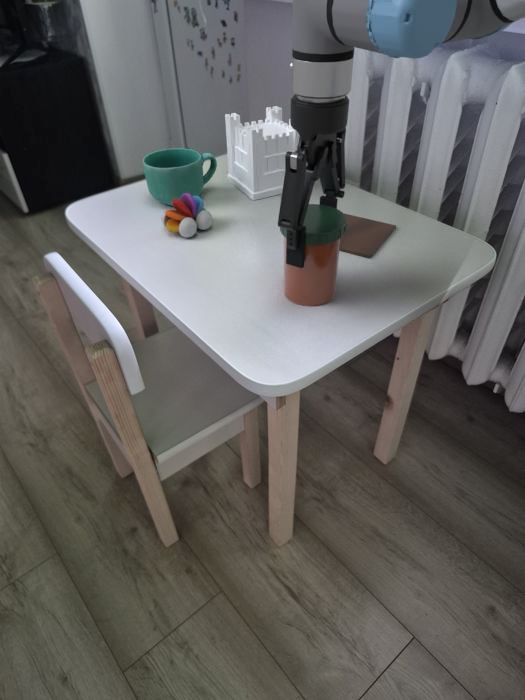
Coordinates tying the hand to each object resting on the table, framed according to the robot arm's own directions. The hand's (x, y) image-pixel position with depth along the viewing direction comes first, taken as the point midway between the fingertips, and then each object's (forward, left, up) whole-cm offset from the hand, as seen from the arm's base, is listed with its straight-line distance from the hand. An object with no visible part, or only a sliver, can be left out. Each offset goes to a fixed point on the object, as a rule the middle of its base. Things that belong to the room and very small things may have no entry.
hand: (311, 249), depth 76 cm
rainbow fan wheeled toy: (+32, -8, -8) cm, 34 cm away
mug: (+42, -20, -8) cm, 47 cm away
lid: (0, 0, +5) cm, 5 cm away
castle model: (+30, -36, -8) cm, 47 cm away
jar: (0, 0, -8) cm, 8 cm away
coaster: (+2, -22, -8) cm, 23 cm away
